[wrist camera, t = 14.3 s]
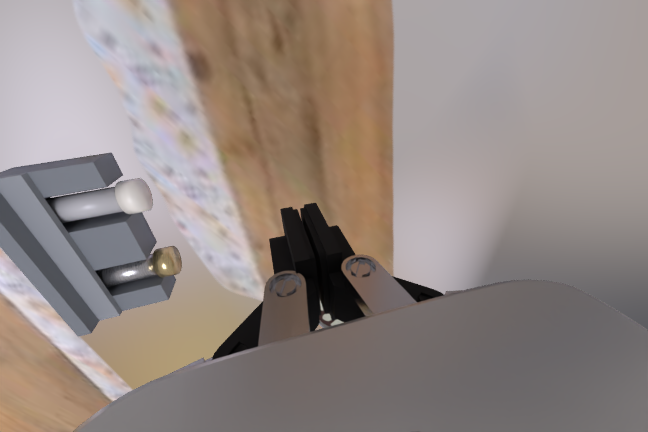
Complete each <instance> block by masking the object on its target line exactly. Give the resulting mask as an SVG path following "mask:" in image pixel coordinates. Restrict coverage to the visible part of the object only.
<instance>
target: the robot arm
mask: <svg viewBox="0 0 648 432" xmlns="http://www.w3.org/2000/svg"><path fill="white" fill-rule="evenodd" d="M300 211H301V218H300V215H299V213H298V210H297V209H295V210H293V208H292V207H289V208H283V209H281V216H282V222H283V228H284V233H285V236H281V237H276V238H271V239H269V241H270V248H271V255H272V262H273V269H274V275H273V276H272V277H271V278H269V280H268V281H267V282H266V285H265V290H264V299H263V302H262V303H261V304H260V305H259V306H258V307H257V308H256V309H255V310H254V311H253V312H252V313H251V314H250V315H249V316H248V318H246V320H245V321H244V322H243V323H242V324H241V325H240V326H239V327H238V328H237V329H236V330H235V331H234V332H233V333H232V334H231V335H230V336H229V337H228V338H227V340H225V342H224V343H223V344H222V345H221V346H220V347H219V348H218V349H217V351H216V352H215V353H214V355H213V357H212V358H210V359H207V360H206V361H205V360H204V358H201V359H199V360H198V361H195V362H193V363H191V364H189V365H187V366H185V367H183V368H180V369H178V370H176V371H174V372H172V373H170V374H168V375H166V376H163V377H161V378H158V379H156V380H153V381H150V382H149V383H146V384H145V385H142V386H140V387H138V388H136V389H134V390H132V391H130V392H128V393H127V394H125V395H123V396H122V397H120V398H118V399H117V400H115V401H113V402H112V403H110V404H109V405H107V406H105V407H104V408H102V409H101V410H99V411H98V412H97V413H95V414H94V415H92V416H91V417H90V418H88V419H87V420H86V421H84V422H83V423H82V424H81V425H79V426H78V427H77V428H76V429H75V430H74V431H73V432H648V330H647V329H645V328H644V327H643V326H641V325H639V324H638V323H636V322H635V321H633V320H631V319H630V318H628V317H627V316H625V315H623V314H622V313H620V312H619V311H617V310H615V309H614V308H612V307H610V306H609V305H607V304H605V303H604V302H602V301H600V300H598V299H597V298H595V297H593V296H591V295H589V294H588V293H586V292H584V291H582V290H580V289H577V288H575V287H573V286H570V285H567V284H564V283H559V282H553V281H545V280H529V279H528V280H511V281H504V282H498V283H493V284H488V285H484V286H479V287H475V288H471V289H467V290H461V291H446V293H445V295H443V294H442V293H441V292H438V291H436V290H434V289H430V288H428V287H424V286H421V285H418V284H415V283H412V282H409V281H406V280H402V279H399V278H396V277H393V276H391V275H390V274H389V273H388V272H387V271H386V270H385V269H384V268H383V267H382V266H381V265H380V264H379V263H378V261H376V260H375V259H374V258H372V257H370V256H367V255H355V253H354V252H353V250H352V248H351V247H350V245H349V243H348V242H347V240H346V238H345V237H344V235H343V233H342V232H341V230H340V228H339V227H338V226H337V225H336V226H331V227H329V226H328V225H327V223H326V221H325V219H324V217H323V215H322V213H321V211H320V210H319V208H318V206H317V204H316V203H311V204H306V205H304V208H300ZM301 219H302V221H301ZM320 301H321V304H322V307H323V310H324V313H325V314H327V313H329V314H330V316H331V319H332V321H333V320H337V319H338V320H340V321H342V322H344V323H340V324H337V325H333V326H329V327H326V328H322V329H319V330H315V329H316V328H317V326H318V325H319V323H320V321H319V316H320V315H321V306H320Z"/></svg>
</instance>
